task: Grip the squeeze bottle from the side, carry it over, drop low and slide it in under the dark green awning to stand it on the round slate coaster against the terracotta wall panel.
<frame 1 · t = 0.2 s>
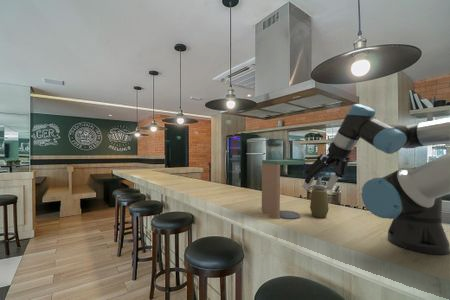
hand: (317, 187, 92), 15 cm above the counter, tool tilted 35°, fingers open, 13 cm apart
squeeze bottle: (319, 216, 101), on the counter
awning: (282, 213, 105), on the counter
coaster: (286, 215, 102), on the counter
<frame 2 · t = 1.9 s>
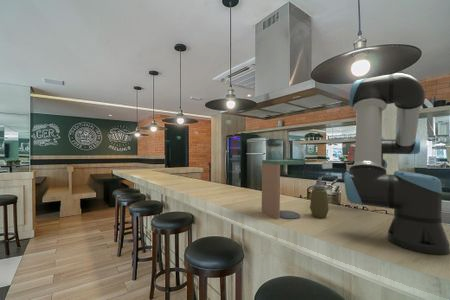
hand: (334, 167, 105), 23 cm above the counter, tool horizontal, fingers open, 13 cm apart
nothing on the counter moved.
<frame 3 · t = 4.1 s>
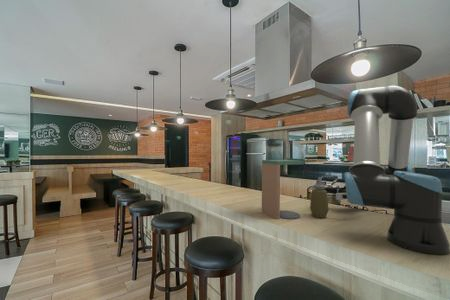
hand: (323, 194, 103), 10 cm above the counter, tool horizontal, fingers open, 13 cm apart
nothing on the counter moved.
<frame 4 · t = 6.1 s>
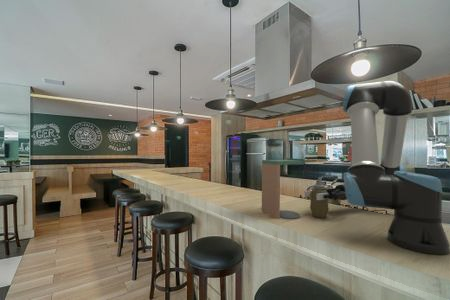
hand: (311, 195, 99), 10 cm above the counter, tool horizontal, fingers closed on squeeze bottle, 6 cm apart
squeeze bottle: (319, 216, 101), on the counter, touching gripper
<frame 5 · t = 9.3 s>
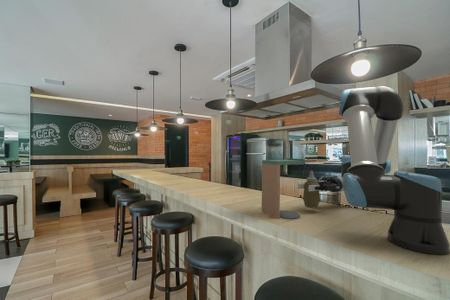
hand: (303, 187, 107), 12 cm above the counter, tool horizontal, fingers closed on squeeze bottle, 6 cm apart
squeeze bottle: (311, 207, 109), point 2 cm above the counter, touching gripper
when the fingers open (12 cm above the counter, at t = 12.3 s): squeeze bottle drops 2 cm, resting on coaster.
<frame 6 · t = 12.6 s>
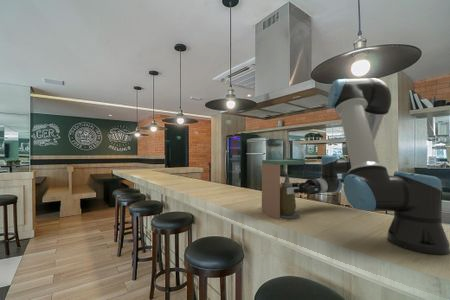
hand: (279, 189, 100), 12 cm above the counter, tool horizontal, fingers open, 10 cm apart
squeeze bottle: (286, 214, 102), resting on coaster
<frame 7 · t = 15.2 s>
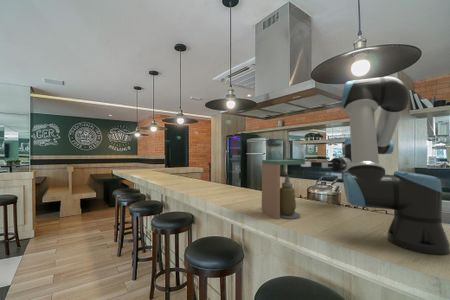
hand: (311, 164, 109), 24 cm above the counter, tool horizontal, fingers open, 13 cm apart
nothing on the counter moved.
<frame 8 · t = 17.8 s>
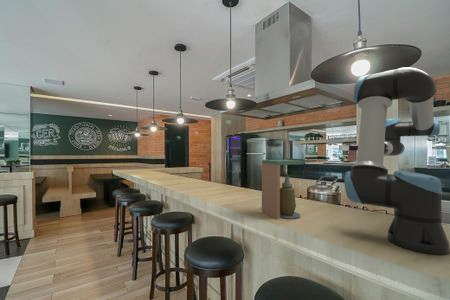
hand: (352, 147, 103), 32 cm above the counter, tool horizontal, fingers open, 13 cm apart
nothing on the counter moved.
at the end: squeeze bottle 0.1 cm from the coaster (horizontally); squeeze bottle tilted 0°; the gripper is holding nothing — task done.
